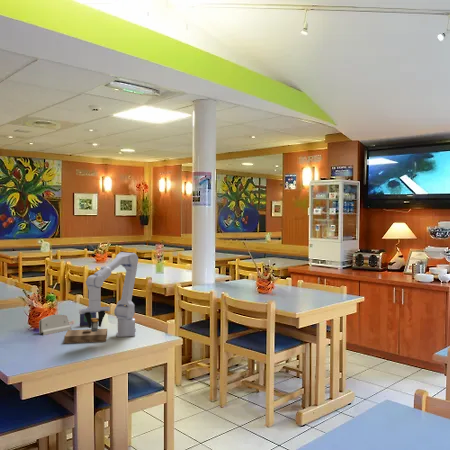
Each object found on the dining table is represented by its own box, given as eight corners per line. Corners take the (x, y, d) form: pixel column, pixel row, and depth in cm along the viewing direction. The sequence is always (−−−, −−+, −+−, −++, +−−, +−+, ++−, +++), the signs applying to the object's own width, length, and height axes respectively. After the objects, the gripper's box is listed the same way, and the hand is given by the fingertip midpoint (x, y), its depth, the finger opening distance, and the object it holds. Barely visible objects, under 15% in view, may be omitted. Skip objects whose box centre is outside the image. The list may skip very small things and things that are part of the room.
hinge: (43, 335, 241) (40, 316, 243) (39, 336, 244) (36, 318, 246) (72, 329, 254) (69, 311, 256) (68, 330, 257) (65, 313, 259)
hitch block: (107, 335, 242) (107, 328, 242) (105, 341, 231) (105, 334, 231) (67, 336, 239) (67, 330, 238) (64, 343, 227) (64, 336, 227)
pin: (99, 329, 227) (99, 317, 227) (98, 332, 223) (99, 319, 223) (90, 330, 226) (90, 317, 226) (89, 332, 222) (89, 319, 222)
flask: (96, 324, 266) (96, 306, 265) (96, 325, 263) (96, 307, 263) (79, 325, 262) (79, 307, 262) (80, 326, 260) (80, 308, 259)
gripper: (107, 296, 231) (107, 323, 232) (77, 299, 224) (77, 326, 224) (111, 299, 225) (111, 326, 225) (81, 302, 218) (81, 330, 218)
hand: (94, 326), depth 225 cm, fingers closed on pin, 4 cm apart
